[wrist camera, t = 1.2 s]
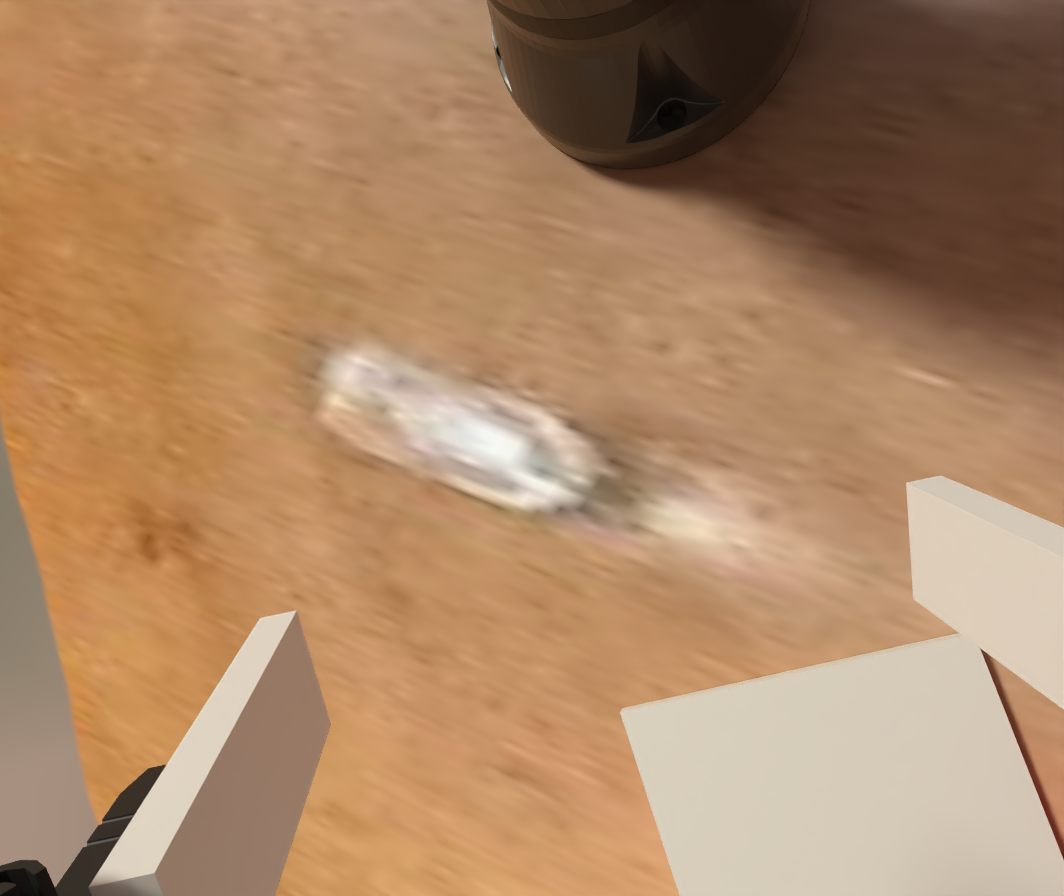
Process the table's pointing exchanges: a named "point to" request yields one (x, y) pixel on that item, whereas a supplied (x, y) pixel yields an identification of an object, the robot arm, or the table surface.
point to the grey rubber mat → (848, 782)
